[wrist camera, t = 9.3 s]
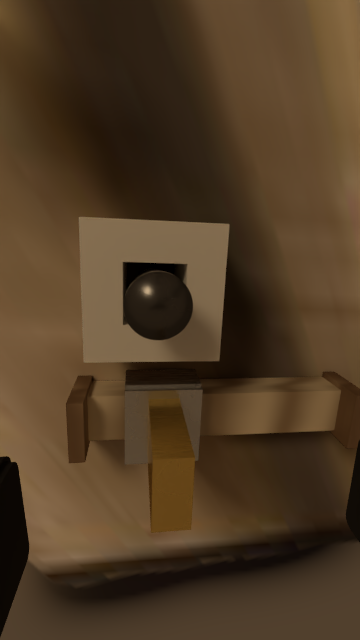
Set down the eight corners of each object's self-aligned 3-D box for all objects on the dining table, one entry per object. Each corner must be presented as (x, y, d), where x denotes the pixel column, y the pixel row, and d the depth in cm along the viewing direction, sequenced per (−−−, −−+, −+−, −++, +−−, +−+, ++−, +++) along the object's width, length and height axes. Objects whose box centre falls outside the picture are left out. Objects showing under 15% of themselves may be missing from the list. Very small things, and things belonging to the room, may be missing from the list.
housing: (205, 228, 26) (229, 224, 20) (199, 336, 29) (218, 366, 22) (94, 222, 25) (78, 216, 18) (96, 336, 27) (83, 368, 21)
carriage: (194, 369, 28) (227, 442, 18) (191, 436, 30) (218, 538, 20) (126, 370, 27) (119, 447, 17) (126, 439, 29) (120, 547, 19)
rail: (334, 371, 31) (370, 395, 27) (326, 417, 33) (359, 448, 28) (78, 375, 28) (65, 403, 23) (80, 426, 29) (68, 463, 24)
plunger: (178, 263, 23) (194, 273, 16) (176, 312, 24) (191, 340, 17) (127, 261, 22) (123, 271, 16) (127, 312, 23) (123, 340, 17)
